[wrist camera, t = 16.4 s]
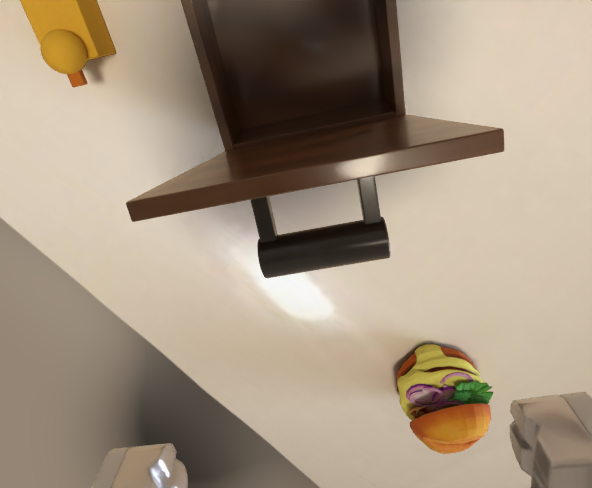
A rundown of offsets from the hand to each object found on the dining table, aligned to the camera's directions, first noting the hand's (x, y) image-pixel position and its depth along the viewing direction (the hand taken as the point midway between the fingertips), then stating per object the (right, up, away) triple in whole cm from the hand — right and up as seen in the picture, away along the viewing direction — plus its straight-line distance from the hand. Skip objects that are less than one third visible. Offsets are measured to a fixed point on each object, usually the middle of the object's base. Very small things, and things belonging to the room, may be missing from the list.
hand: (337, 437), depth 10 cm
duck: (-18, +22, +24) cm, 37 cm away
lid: (0, +10, +13) cm, 17 cm away
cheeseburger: (+16, -11, +41) cm, 46 cm away
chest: (-1, +23, +23) cm, 32 cm away
